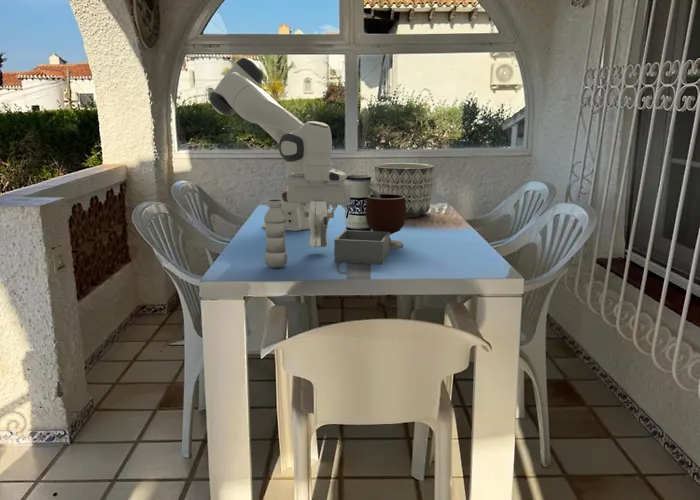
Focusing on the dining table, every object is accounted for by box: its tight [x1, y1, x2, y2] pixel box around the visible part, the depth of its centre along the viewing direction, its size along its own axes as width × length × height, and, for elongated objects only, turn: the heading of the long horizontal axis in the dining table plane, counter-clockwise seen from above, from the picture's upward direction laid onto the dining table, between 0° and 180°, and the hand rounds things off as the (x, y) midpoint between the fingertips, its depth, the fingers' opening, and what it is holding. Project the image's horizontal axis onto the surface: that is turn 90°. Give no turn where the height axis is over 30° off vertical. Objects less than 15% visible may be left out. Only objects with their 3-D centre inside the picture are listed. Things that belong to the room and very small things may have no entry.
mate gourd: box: [365, 185, 407, 250], centre depth 199 cm, size 16×14×20 cm
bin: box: [333, 229, 391, 265], centre depth 184 cm, size 15×15×7 cm
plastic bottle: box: [263, 198, 289, 269], centre depth 170 cm, size 6×7×20 cm
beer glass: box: [308, 200, 331, 248], centre depth 187 cm, size 7×7×15 cm
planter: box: [374, 162, 435, 219], centre depth 258 cm, size 26×26×22 cm
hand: (318, 217), depth 186 cm, fingers closed on beer glass, 7 cm apart
